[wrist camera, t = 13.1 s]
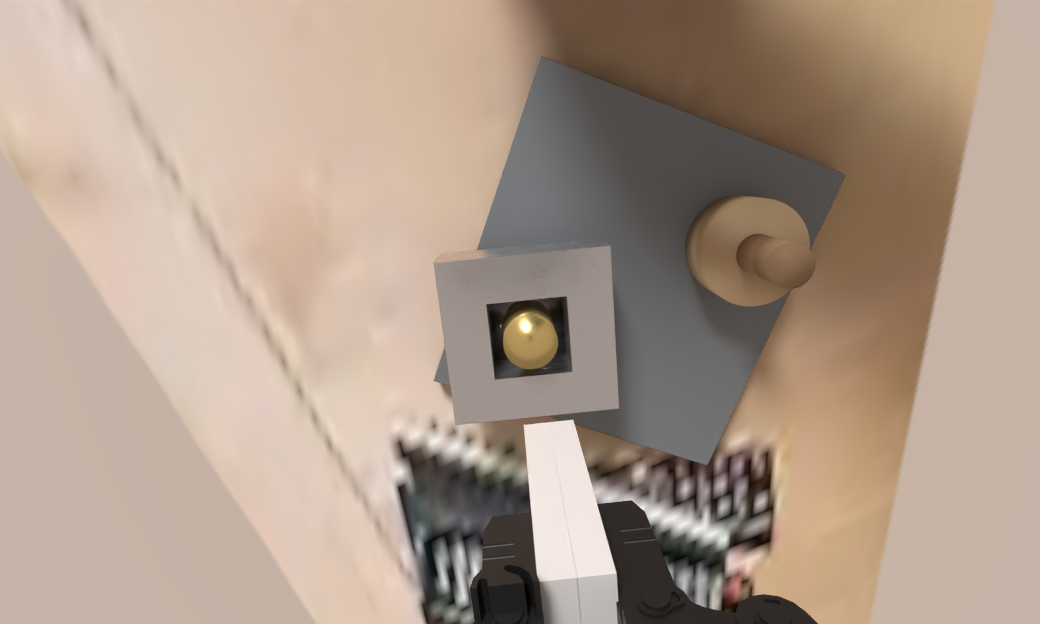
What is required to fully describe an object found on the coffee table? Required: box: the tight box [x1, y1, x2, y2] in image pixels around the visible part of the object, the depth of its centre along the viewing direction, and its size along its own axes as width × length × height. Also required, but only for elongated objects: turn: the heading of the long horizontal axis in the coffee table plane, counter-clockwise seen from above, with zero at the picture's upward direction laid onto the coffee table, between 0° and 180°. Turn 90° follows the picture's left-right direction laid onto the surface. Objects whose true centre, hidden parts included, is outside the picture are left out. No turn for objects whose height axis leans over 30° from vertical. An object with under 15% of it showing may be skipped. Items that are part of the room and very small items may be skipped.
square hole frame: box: [434, 238, 619, 425], centre depth 31 cm, size 9×9×3 cm
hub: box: [489, 297, 566, 369], centre depth 32 cm, size 7×7×6 cm
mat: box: [434, 57, 846, 465], centre depth 35 cm, size 20×19×1 cm
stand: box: [685, 195, 815, 306], centre depth 31 cm, size 6×6×7 cm
